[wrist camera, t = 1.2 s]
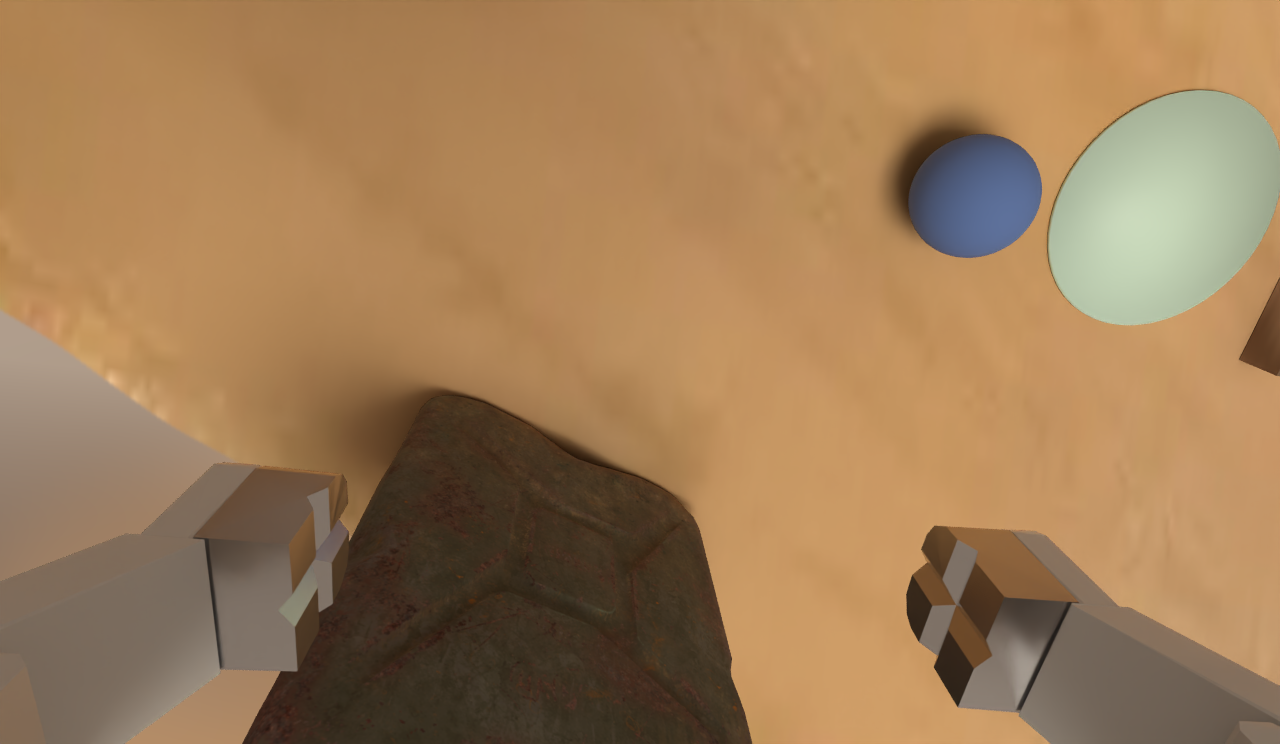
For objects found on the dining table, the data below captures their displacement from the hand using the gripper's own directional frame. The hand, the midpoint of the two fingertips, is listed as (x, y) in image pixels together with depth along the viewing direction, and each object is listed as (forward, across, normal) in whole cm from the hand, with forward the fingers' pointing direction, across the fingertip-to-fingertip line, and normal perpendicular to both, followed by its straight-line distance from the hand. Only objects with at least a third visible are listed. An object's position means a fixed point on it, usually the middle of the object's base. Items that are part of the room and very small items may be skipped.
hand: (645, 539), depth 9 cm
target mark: (+29, -31, -4) cm, 42 cm away
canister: (+29, +2, +18) cm, 34 cm away
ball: (+26, -18, -4) cm, 32 cm away
